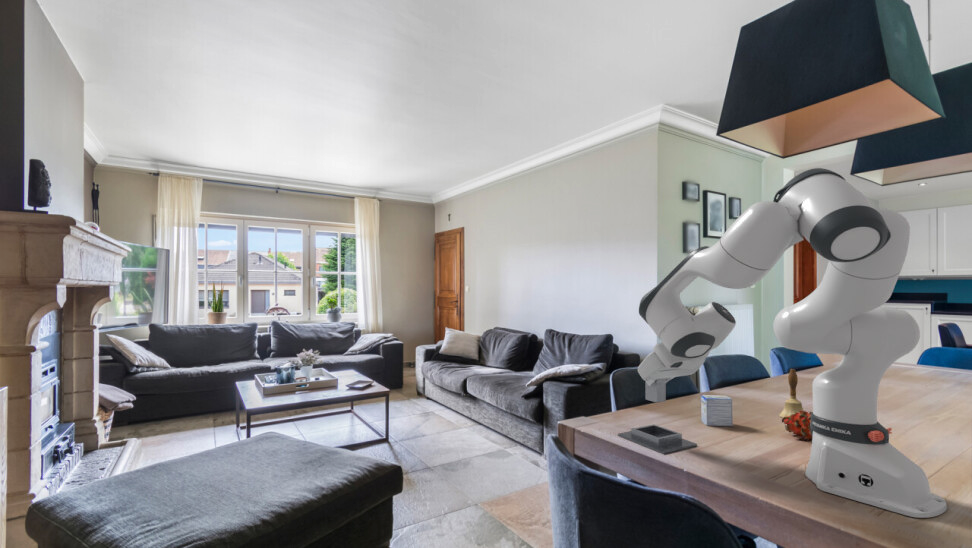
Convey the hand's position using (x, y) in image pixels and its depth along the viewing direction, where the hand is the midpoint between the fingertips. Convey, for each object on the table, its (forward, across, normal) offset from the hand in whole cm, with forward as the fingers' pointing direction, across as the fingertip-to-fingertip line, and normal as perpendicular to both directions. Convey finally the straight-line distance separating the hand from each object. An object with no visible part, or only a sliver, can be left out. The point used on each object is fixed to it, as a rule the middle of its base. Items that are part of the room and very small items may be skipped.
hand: (655, 382), depth 124 cm
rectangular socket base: (+11, 0, +11) cm, 16 cm away
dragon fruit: (-1, -40, +24) cm, 47 cm away
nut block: (+3, 0, +4) cm, 5 cm away
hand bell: (+8, -60, +15) cm, 62 cm away
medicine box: (+13, -30, +10) cm, 34 cm away
